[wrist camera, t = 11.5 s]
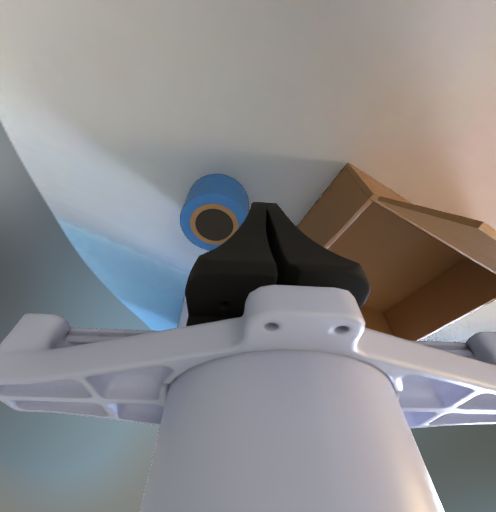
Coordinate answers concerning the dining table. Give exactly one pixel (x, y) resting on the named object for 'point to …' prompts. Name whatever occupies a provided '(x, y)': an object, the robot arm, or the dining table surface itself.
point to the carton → (397, 260)
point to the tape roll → (213, 210)
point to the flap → (452, 230)
